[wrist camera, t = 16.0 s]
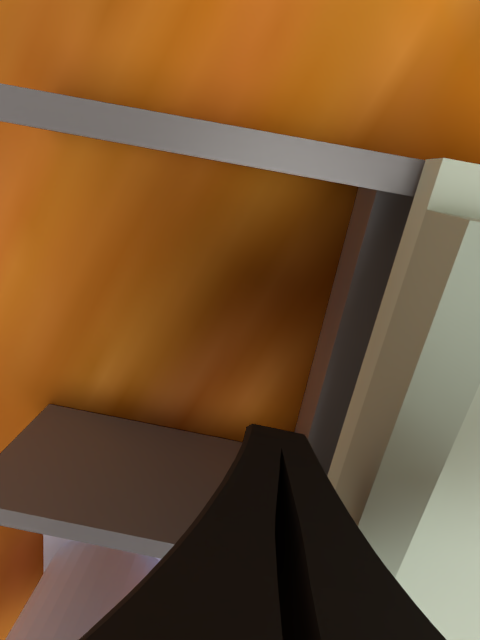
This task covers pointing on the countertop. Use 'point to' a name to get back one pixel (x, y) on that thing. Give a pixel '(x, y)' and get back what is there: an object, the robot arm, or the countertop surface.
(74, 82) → the countertop surface
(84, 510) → the housing
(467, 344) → the lid
